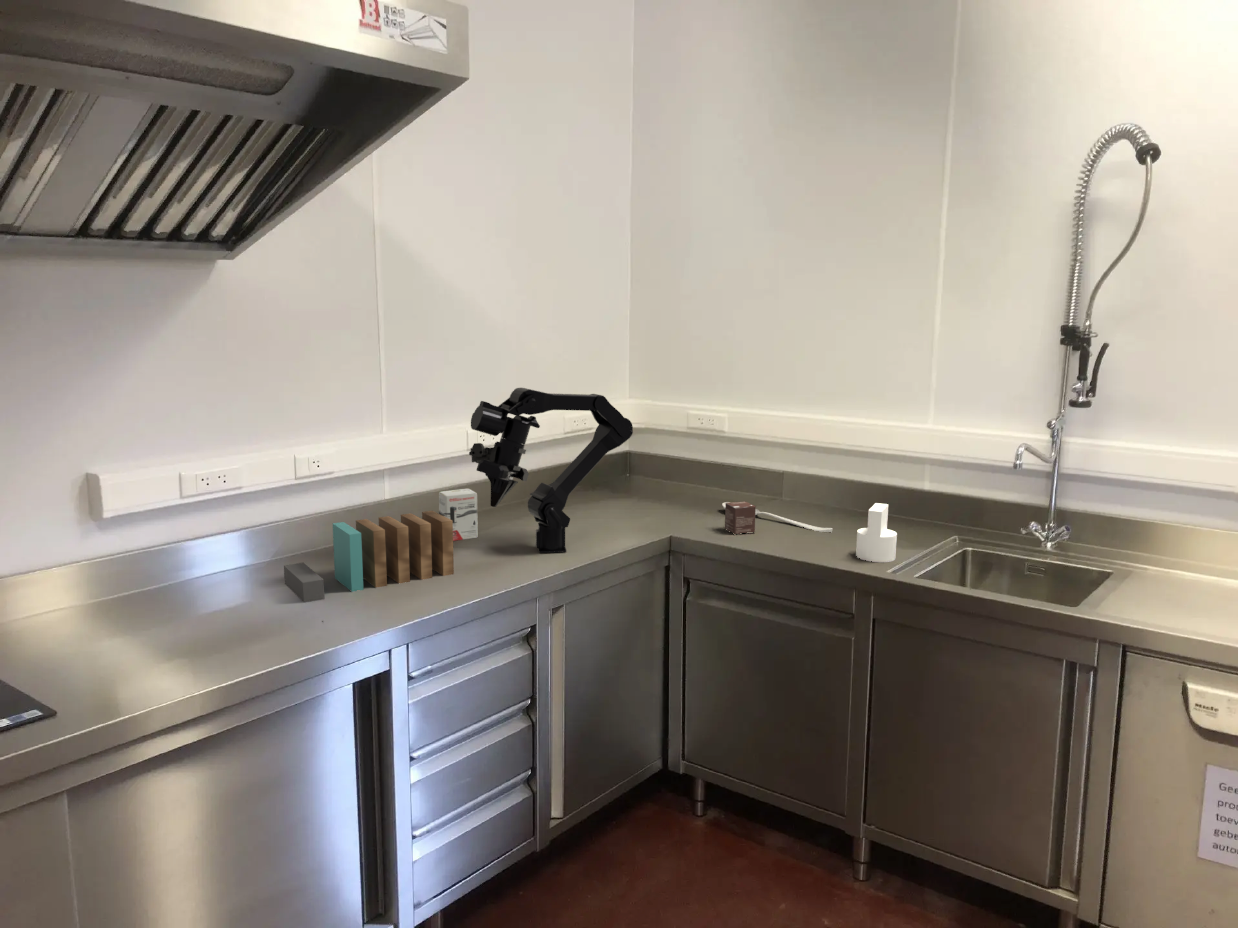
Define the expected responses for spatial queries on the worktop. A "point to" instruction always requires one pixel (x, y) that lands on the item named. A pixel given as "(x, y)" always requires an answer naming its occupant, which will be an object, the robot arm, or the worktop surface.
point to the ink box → (460, 512)
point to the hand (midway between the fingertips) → (493, 506)
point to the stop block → (304, 582)
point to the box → (740, 517)
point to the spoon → (791, 521)
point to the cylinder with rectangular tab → (876, 537)
